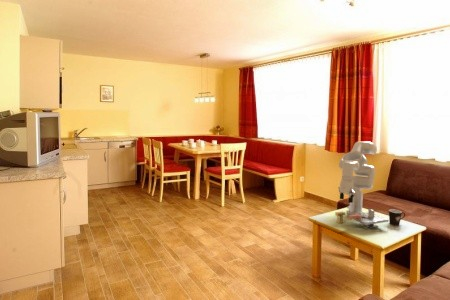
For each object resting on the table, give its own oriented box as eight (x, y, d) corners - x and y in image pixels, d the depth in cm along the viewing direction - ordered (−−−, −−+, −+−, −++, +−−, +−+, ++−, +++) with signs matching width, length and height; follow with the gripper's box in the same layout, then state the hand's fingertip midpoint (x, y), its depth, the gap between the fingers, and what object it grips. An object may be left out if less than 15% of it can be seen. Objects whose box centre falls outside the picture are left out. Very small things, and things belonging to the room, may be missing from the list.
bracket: (346, 218, 217) (346, 214, 217) (355, 217, 220) (355, 213, 220) (352, 221, 212) (352, 216, 211) (361, 219, 214) (361, 215, 214)
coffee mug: (388, 225, 223) (389, 212, 222) (387, 221, 231) (387, 208, 230) (406, 227, 219) (407, 214, 218) (404, 223, 227) (405, 210, 226)
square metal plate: (346, 223, 226) (347, 208, 224) (368, 220, 233) (369, 205, 231) (364, 232, 209) (365, 216, 207) (387, 228, 216) (389, 212, 214)
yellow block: (334, 222, 229) (335, 212, 228) (342, 221, 231) (342, 211, 230) (337, 223, 226) (337, 213, 225) (344, 222, 228) (345, 212, 227)
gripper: (335, 176, 229) (334, 198, 231) (351, 180, 213) (349, 204, 215) (343, 175, 232) (342, 197, 233) (359, 180, 215) (358, 203, 217)
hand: (346, 200), depth 224 cm, fingers open, 9 cm apart
